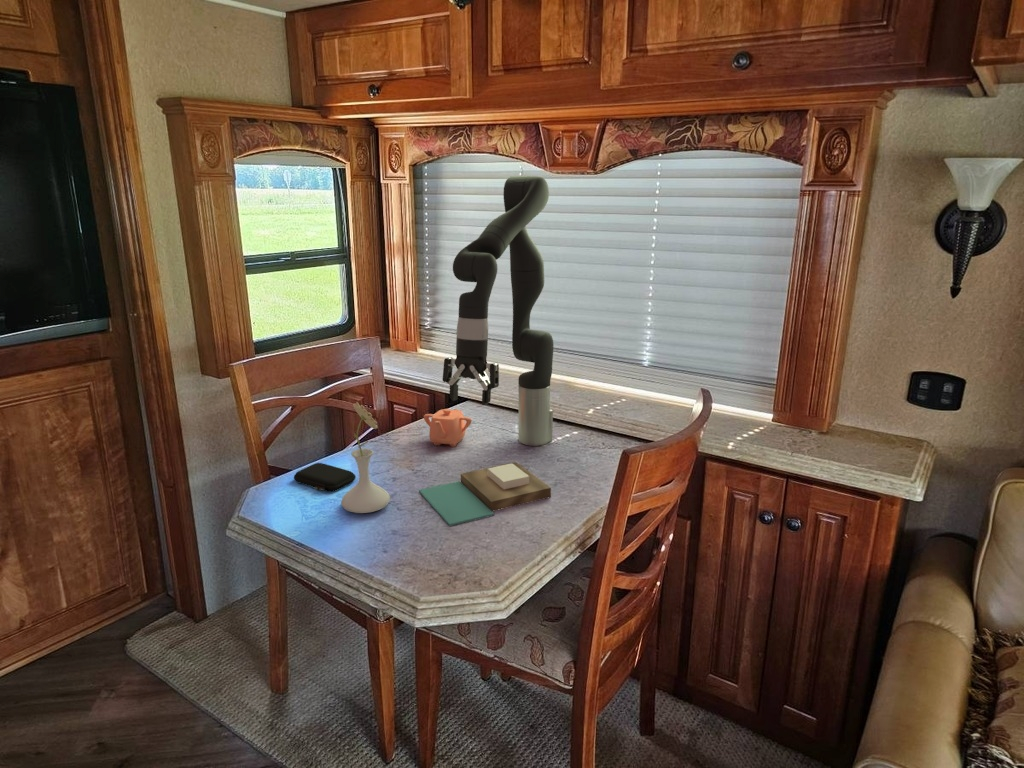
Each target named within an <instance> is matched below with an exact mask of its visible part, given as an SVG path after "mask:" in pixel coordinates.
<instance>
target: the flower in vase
mask: <svg viewBox="0 0 1024 768" xmlns="http://www.w3.org/2000/svg"><path fill="white" fill-rule="evenodd" d="M352 405H353V408H354V410H355V412H356V413H357V415H359V417H360V421H359V423H358V426H357V430H356V433H355V432H353V435H354V436H353V437H354V438H355V439H356V441H357V444H358V445H357V446H358V448H357V449H355V450H353V451H352V452H351V453H350V455H351V456H352V457H353V458H354V460H355V462H356V465H357V468H358V481H357V483H356V484H355V485H354V486H353V487H352V488H350V489H349V490H348V491H347V492H346V493H345V494H344V495H343V496H342V498H341V500H340V505H341V507H342V508H343V509H344V510H345V511H346V512H347V511H348V512H350V513H354V514H368V513H373V512H377V511H379V510H382V509H384V508H385V507H386V506H387V505H388V504H389V502H390V500H391V496H390V494H389V493H388V491H386V490H385V489H384V488H383V487H381V486H379V485H378V484H375V483H374V482H373V481H371V479H370V473H369V468H370V467H369V466H370V459H371V457H372V456H373V454H374V450H372V449H371V448H362V446H364V445H365V444H367V443H369V440H366V441H364V442H363V443H360V442H361V441H360V440H359V431H360V428H361V424H362V421H364V422H365V423H366V424H367V425H368V426H369V427H371V428H372V429H373V430H377V429H378V428H379V426H377V425H378V422H377V421H376V420H375V419H374V418H373V414H372V413H371V412H368V410H367V409H365V406H364V405H363V404H361V405H360V404H359V402H358V401H356V403H355V402H354V403H353V404H352Z"/></svg>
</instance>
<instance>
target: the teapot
mask: <svg viewBox="0 0 1024 768" xmlns="http://www.w3.org/2000/svg"><path fill="white" fill-rule="evenodd" d="M430 419H431V420H430ZM423 420H424V422H425V423H426V424H427V425H428V426H429V434H428V437H429V441H430V442H431V443H433V445H434V446H436V445H438V446H441V445H442V444H444V445H449V446H451V447H450V448H455V446H456V445H457V444H458V443H459V442H461V440H462V441H463V438H464V437H465V435H466V433H467V432H466V431H467V429H468V428H469V427H470V426H471V423H472V421H473V420H472V418H471V417H469V416H464V413H463V411H462V410H459V409H457V408H454V409H450V408H444V409H440V410H437V411H436V412H435V413H434V414H433V413H426V414H424V415H423ZM440 444H441V445H440ZM456 447H457V446H456Z"/></svg>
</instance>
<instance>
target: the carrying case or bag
mask: <svg viewBox="0 0 1024 768" xmlns="http://www.w3.org/2000/svg"><path fill="white" fill-rule="evenodd" d="M356 478H357V477H356V474H355V473H354V472H352V471H350V470H348V469H345V468H341V467H337V466H333V465H330V464H327V463H323V462H316V463H313V464H311V465H308V466H307V467H305V468H301V469H299V470H298V471H297V472H296V473H295V474H294V476H293V479H294V481H295V482H296V483H299V484H301V485H305V486H309V487H311V488H314V490H316V491H325V492H328V493H333V492H336V491H339V490H341V489H342V488H345V486H349V485H350V484H352V483H353V482H354V481H355V480H356Z"/></svg>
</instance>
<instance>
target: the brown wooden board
mask: <svg viewBox="0 0 1024 768" xmlns="http://www.w3.org/2000/svg"><path fill="white" fill-rule="evenodd" d="M507 464H514V465H515V466H516V467H518V468H519V469H520V470H522V471H523V472H524V473H526V474H527V475H528V476H529V484H526V485H521V486H517V487H512V488H508V489H503V488H501V487H500V486H499V485H498V484H497V483H496V482H494V481H493V480H492V479H491V478H490V477H488V468H493V467H497V466H502V465H507ZM460 482H461V483H462V484H463V485H464V486H465V487H467V488H468V489H469V490H470V491H471V492H472V493H473V494H474V495H475V496H476V497H477V498H478V499H479V500H480V501H482V502H483V503H484V504H485V505H486V506H487V507H488V508H489V509H490V510H491V511H492V512H494V511H493V510H495V511H499V510H498V509H500V510H502V509H501V508H504V509H507V508H506V507H508V508H511V507H510V506H512V507H515V505H516V506H520V505H523V503H524V504H528V503H527V502H529V503H532V502H531V501H533V502H536V501H535V500H537V501H540V500H539V499H541V500H544V499H543V498H545V499H549V498H551V497H552V496H551V494H552V487H551V486H549V485H548V484H547V483H545V482H544V481H542V480H541V479H539V478H538V477H537V476H536V475H534V474H533V473H531V472H530V471H529V470H528V469H527V468H525V467H523V466H522V465H521V464H519V463H518V462H517V461H515V462H511V463H505V464H501V465H496V466H491V467H487V468H481V469H476V470H472V471H466V472H461V473H460ZM548 497H549V498H548ZM519 504H520V505H519Z"/></svg>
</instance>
